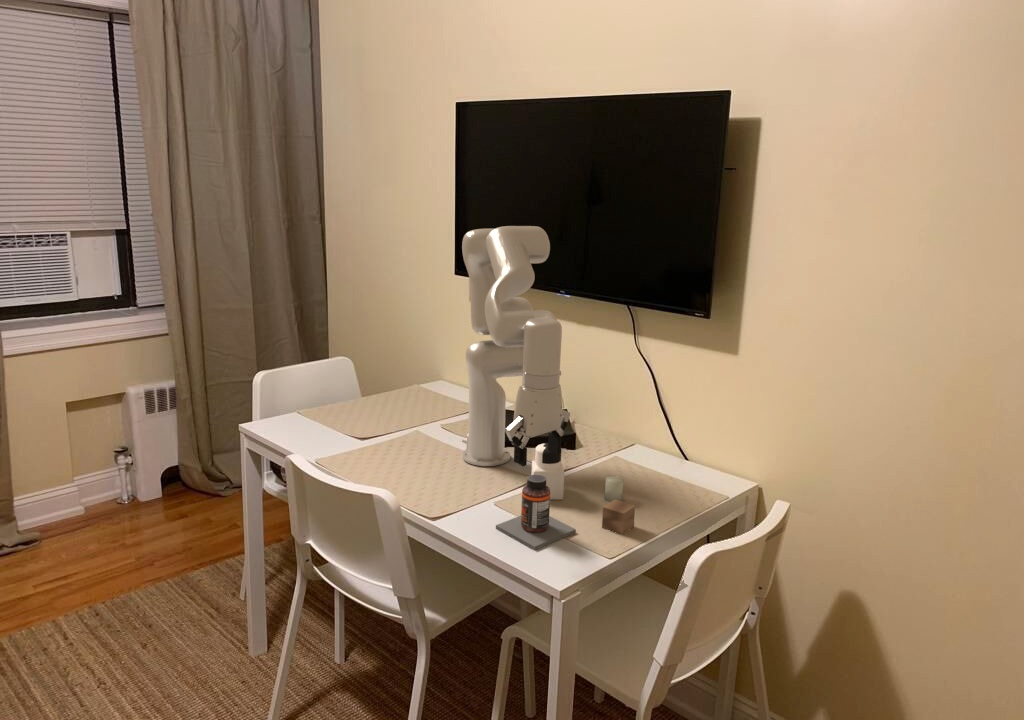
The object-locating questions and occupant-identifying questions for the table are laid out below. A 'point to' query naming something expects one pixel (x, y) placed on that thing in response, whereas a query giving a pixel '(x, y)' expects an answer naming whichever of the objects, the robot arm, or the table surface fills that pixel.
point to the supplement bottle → (535, 504)
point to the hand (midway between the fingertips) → (537, 458)
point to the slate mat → (537, 539)
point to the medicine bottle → (549, 470)
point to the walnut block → (618, 516)
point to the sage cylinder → (613, 488)
